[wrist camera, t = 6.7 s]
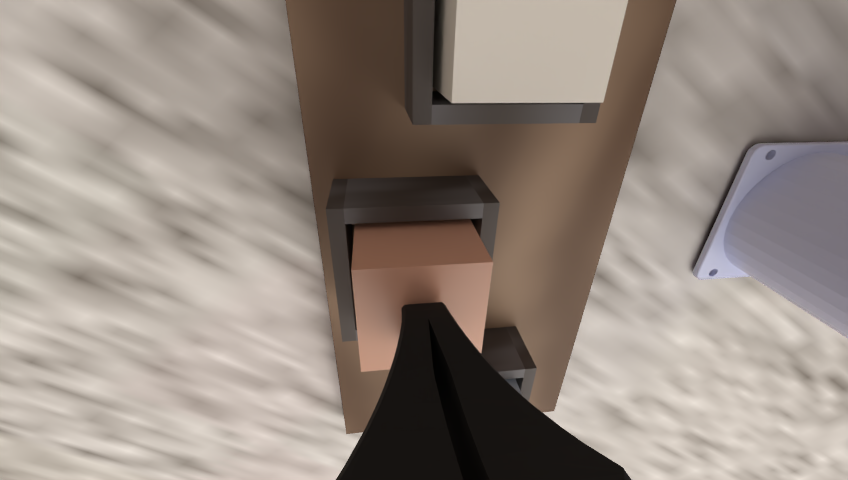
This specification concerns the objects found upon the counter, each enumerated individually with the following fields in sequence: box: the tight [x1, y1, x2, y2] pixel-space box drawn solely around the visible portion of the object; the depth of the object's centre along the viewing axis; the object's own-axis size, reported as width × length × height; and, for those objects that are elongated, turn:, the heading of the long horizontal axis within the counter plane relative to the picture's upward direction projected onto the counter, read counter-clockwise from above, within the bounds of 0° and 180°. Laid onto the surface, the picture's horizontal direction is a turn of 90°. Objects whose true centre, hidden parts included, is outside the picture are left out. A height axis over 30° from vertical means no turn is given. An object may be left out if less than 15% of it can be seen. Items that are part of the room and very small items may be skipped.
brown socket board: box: [285, 0, 676, 434], centre depth 17 cm, size 14×28×4 cm, turn 179°
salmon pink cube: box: [351, 219, 493, 372], centre depth 14 cm, size 4×4×4 cm
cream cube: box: [432, 0, 628, 103], centre depth 11 cm, size 4×4×4 cm
